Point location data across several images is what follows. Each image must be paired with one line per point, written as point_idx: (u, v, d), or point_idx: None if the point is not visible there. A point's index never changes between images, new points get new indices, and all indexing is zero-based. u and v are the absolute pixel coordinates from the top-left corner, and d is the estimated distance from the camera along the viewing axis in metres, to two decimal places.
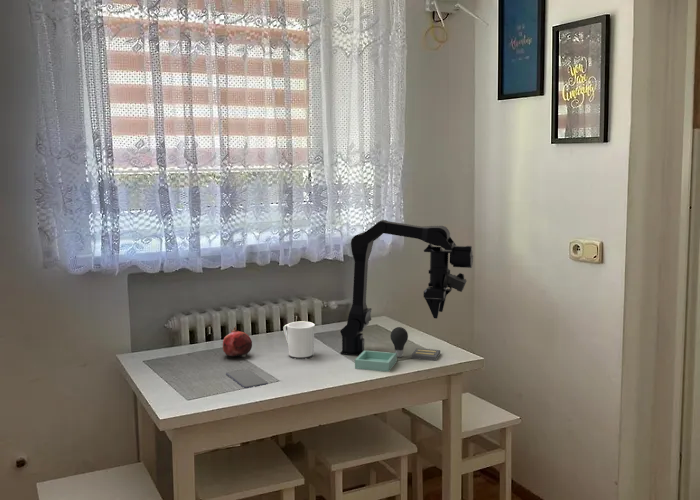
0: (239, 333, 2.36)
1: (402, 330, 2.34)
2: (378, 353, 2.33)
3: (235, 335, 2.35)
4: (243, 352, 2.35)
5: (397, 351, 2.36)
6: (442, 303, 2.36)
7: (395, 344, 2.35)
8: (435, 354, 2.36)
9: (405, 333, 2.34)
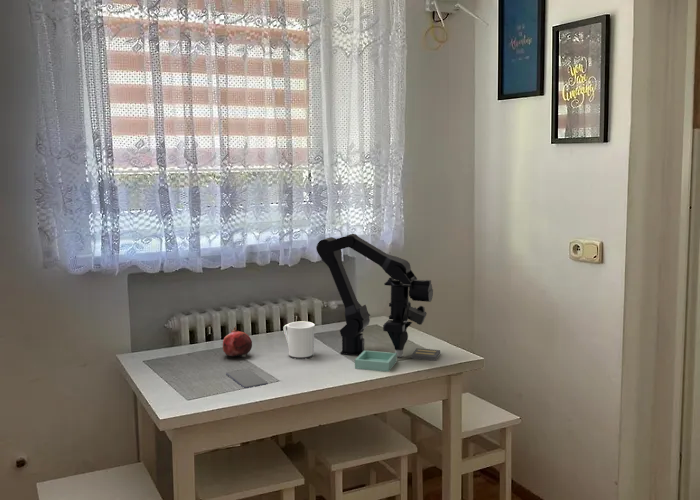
0: (239, 333, 2.36)
1: None
2: (378, 353, 2.33)
3: (235, 335, 2.35)
4: (243, 352, 2.35)
5: (397, 351, 2.36)
6: None
7: None
8: (435, 354, 2.36)
9: (405, 333, 2.34)
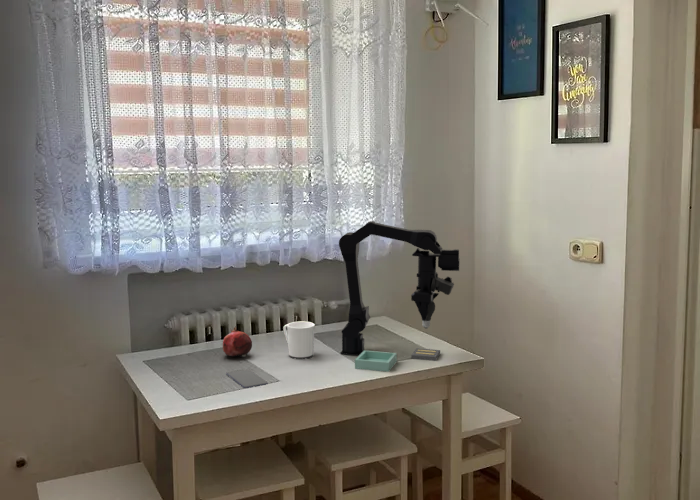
0: (239, 333, 2.36)
1: None
2: (378, 353, 2.33)
3: (235, 335, 2.35)
4: (243, 352, 2.35)
5: (424, 322, 2.36)
6: None
7: None
8: (435, 354, 2.36)
9: (432, 303, 2.34)
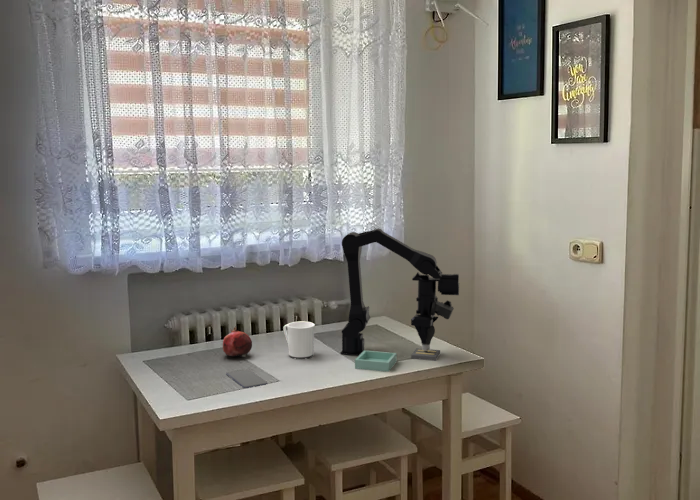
0: (239, 333, 2.36)
1: None
2: (378, 353, 2.33)
3: (235, 335, 2.35)
4: (243, 352, 2.35)
5: (424, 345, 2.37)
6: None
7: None
8: (435, 354, 2.36)
9: (432, 327, 2.36)
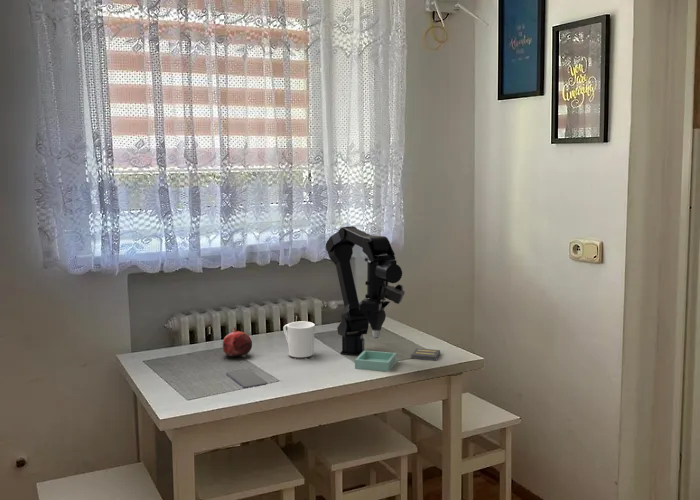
0: (239, 333, 2.36)
1: None
2: (378, 353, 2.33)
3: (235, 335, 2.35)
4: (243, 352, 2.35)
5: (374, 331, 2.27)
6: None
7: None
8: (435, 354, 2.36)
9: (382, 312, 2.25)
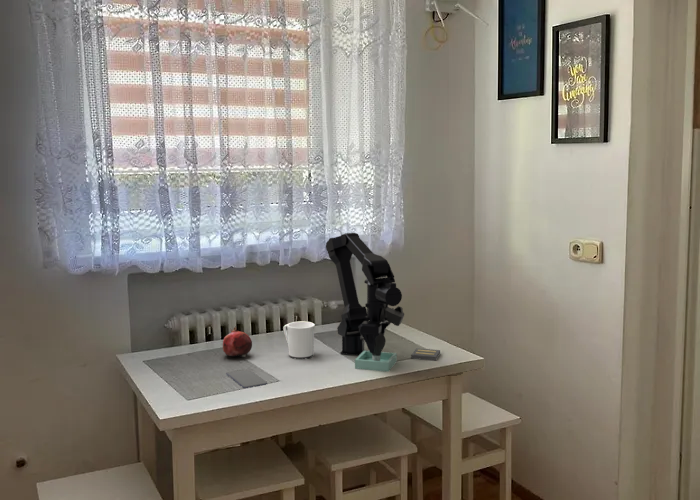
0: (239, 333, 2.36)
1: (379, 335, 2.26)
2: None
3: (235, 335, 2.35)
4: (243, 352, 2.35)
5: (374, 356, 2.28)
6: None
7: None
8: (435, 354, 2.36)
9: (382, 338, 2.26)
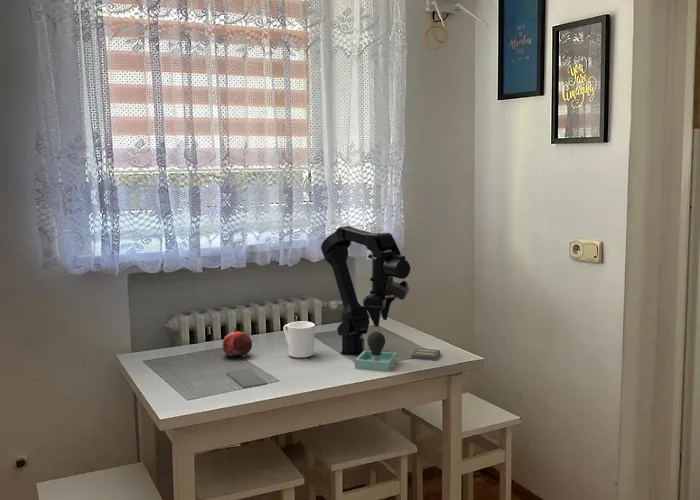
0: (239, 333, 2.36)
1: (379, 335, 2.26)
2: None
3: (235, 335, 2.35)
4: (243, 352, 2.35)
5: (374, 356, 2.28)
6: (386, 311, 2.33)
7: (372, 349, 2.27)
8: (435, 354, 2.36)
9: (382, 338, 2.26)
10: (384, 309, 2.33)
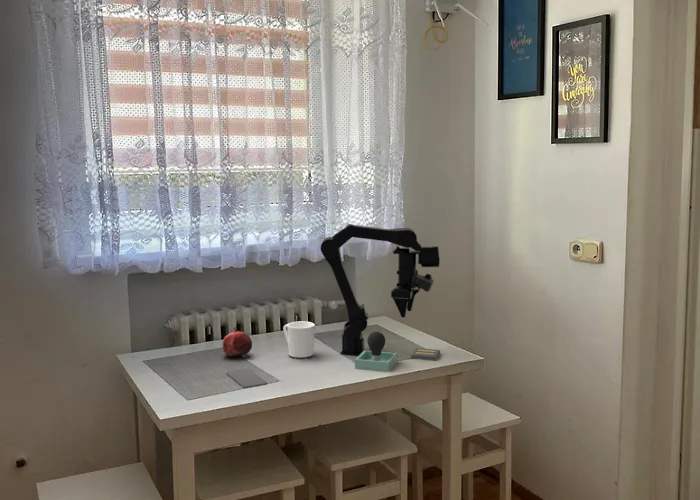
0: (239, 333, 2.36)
1: (379, 335, 2.27)
2: None
3: (235, 335, 2.35)
4: (243, 352, 2.35)
5: (374, 356, 2.28)
6: (411, 303, 2.44)
7: (372, 349, 2.27)
8: (435, 354, 2.36)
9: (382, 338, 2.26)
10: (409, 301, 2.45)
